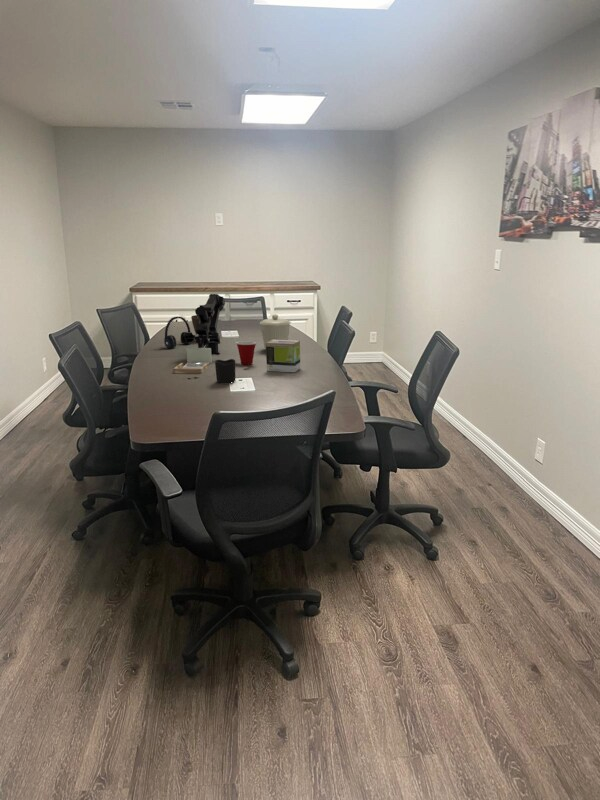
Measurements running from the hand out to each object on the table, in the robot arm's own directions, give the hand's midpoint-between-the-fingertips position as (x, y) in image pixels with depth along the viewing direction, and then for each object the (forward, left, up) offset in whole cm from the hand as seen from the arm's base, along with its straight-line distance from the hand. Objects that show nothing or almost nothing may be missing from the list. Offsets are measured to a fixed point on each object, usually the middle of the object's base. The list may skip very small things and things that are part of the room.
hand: (199, 350), depth 291 cm
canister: (-51, -6, -8) cm, 52 cm away
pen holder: (+5, +40, -8) cm, 41 cm away
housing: (+11, +13, -7) cm, 19 cm away
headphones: (-9, -52, -8) cm, 53 cm away
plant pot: (-29, -58, -8) cm, 65 cm away
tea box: (-29, +37, -8) cm, 48 cm away
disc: (+6, +7, -6) cm, 11 cm away
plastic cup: (-20, +15, -8) cm, 26 cm away
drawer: (+5, +6, -7) cm, 11 cm away
